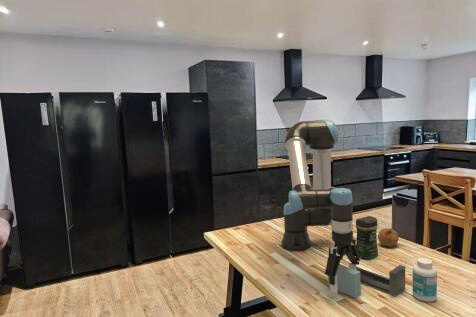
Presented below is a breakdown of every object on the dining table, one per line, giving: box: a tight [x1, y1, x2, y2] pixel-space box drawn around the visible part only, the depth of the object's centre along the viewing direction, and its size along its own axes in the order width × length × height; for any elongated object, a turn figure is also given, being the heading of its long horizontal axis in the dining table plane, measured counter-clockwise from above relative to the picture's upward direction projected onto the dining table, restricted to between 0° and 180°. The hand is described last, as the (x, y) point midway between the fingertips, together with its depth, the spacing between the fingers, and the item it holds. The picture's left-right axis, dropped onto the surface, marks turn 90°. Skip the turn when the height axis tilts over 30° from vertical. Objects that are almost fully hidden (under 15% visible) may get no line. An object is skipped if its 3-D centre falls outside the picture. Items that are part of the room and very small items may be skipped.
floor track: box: [356, 264, 406, 297], centre depth 124 cm, size 20×8×9 cm, turn 38°
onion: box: [377, 227, 400, 248], centre depth 158 cm, size 10×9×10 cm
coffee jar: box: [355, 215, 379, 260], centre depth 148 cm, size 10×8×19 cm
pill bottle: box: [412, 257, 438, 303], centre depth 112 cm, size 8×7×14 cm
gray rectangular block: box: [327, 264, 362, 299], centre depth 120 cm, size 12×3×9 cm, turn 38°
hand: (343, 285), depth 120 cm, fingers open, 12 cm apart
